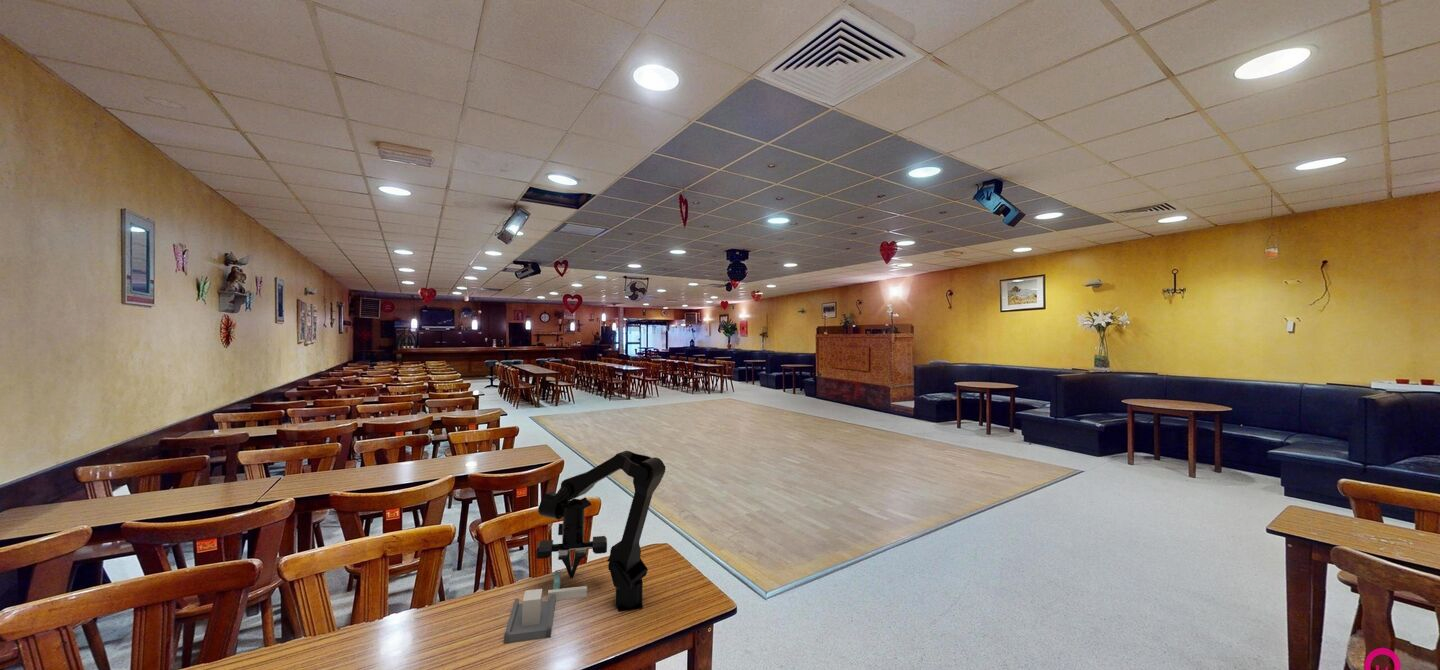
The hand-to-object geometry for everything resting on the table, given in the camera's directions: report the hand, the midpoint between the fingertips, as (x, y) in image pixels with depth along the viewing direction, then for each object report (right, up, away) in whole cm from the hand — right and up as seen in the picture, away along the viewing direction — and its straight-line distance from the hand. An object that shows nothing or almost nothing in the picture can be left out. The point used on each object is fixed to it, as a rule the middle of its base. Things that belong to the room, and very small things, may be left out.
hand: (571, 577), depth 131 cm
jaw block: (-5, -2, -16) cm, 17 cm away
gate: (0, -3, -2) cm, 3 cm away
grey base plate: (-5, -3, -16) cm, 17 cm away
